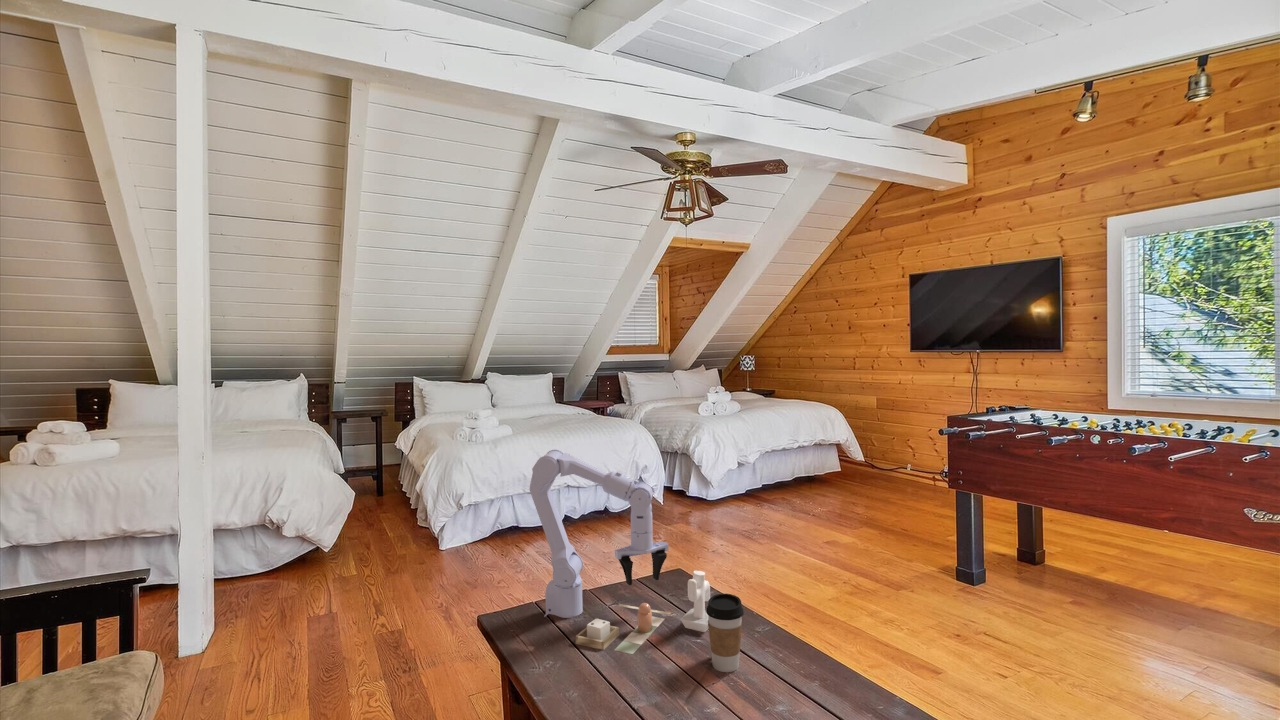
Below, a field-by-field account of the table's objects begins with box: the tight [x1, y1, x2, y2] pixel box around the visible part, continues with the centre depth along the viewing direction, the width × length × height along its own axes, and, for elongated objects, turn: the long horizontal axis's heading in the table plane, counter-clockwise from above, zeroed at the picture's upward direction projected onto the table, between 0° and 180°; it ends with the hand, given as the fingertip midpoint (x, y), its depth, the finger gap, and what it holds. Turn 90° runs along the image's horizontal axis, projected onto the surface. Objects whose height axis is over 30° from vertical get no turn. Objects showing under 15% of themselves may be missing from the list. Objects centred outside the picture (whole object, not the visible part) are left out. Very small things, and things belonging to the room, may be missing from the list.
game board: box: [575, 603, 672, 655], centre depth 164 cm, size 15×26×3 cm, turn 156°
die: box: [586, 617, 611, 641], centre depth 159 cm, size 4×4×4 cm
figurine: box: [680, 570, 711, 633], centre depth 165 cm, size 7×9×15 cm
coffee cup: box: [705, 593, 745, 673], centre depth 148 cm, size 8×8×15 cm
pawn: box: [637, 602, 653, 633], centre depth 163 cm, size 4×4×7 cm
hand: (642, 581), depth 172 cm, fingers open, 7 cm apart
